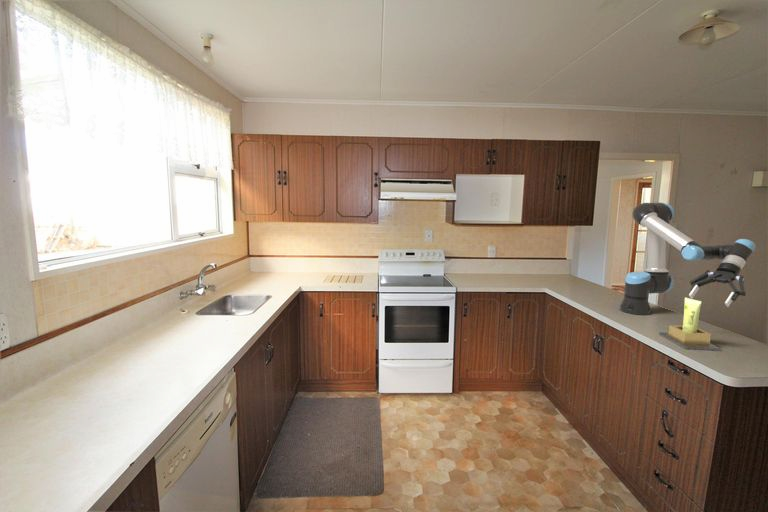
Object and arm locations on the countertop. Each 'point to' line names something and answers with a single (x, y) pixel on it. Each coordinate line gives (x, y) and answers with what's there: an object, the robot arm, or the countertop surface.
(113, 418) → the countertop surface
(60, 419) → the countertop surface
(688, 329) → the tube
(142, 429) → the countertop surface
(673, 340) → the collar plate
